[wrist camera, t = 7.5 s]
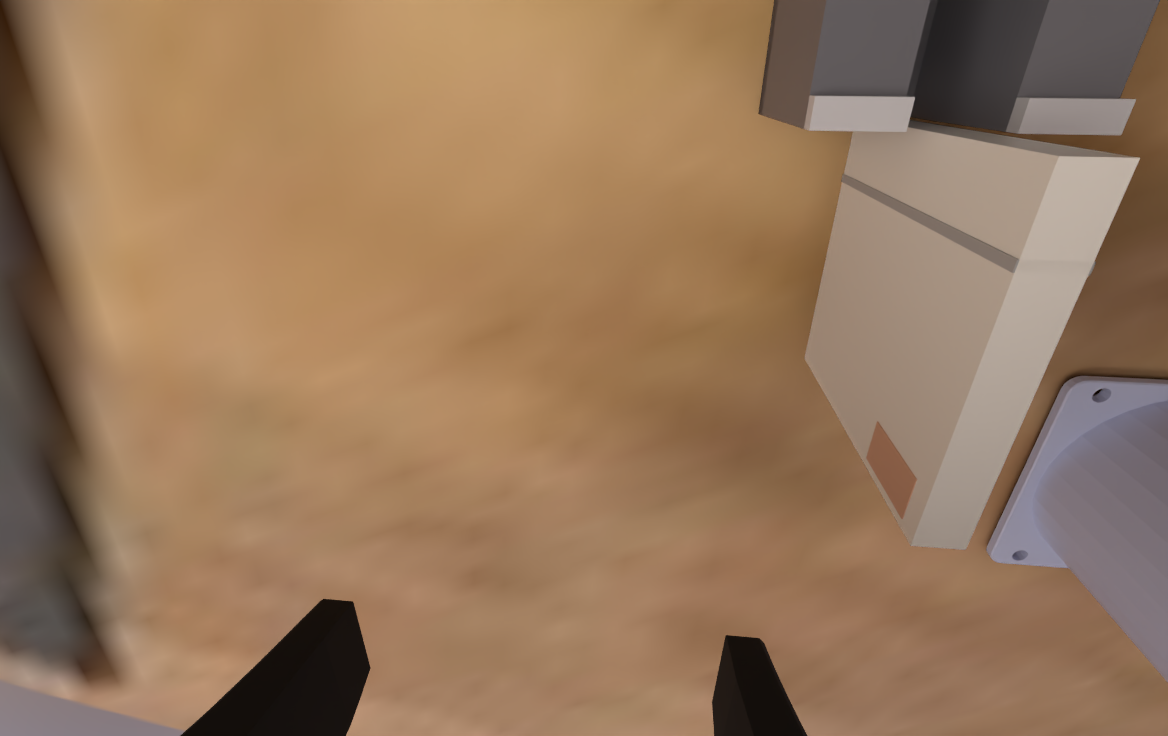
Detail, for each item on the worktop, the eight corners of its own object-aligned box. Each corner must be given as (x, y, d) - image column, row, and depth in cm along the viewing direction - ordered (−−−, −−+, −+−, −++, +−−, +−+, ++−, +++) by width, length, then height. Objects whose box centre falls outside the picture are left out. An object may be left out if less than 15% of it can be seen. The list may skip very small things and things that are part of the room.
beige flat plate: (897, 117, 14) (1142, 157, 7) (838, 360, 18) (967, 550, 11) (854, 117, 14) (1056, 155, 7) (803, 358, 18) (908, 545, 11)
